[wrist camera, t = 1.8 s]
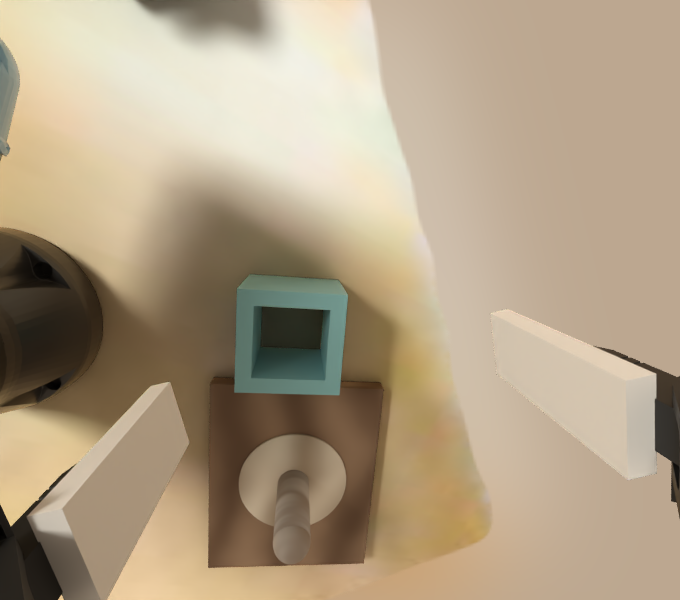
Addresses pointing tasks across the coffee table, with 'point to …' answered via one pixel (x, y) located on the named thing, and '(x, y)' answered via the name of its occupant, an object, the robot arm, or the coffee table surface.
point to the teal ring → (289, 363)
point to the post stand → (291, 475)
